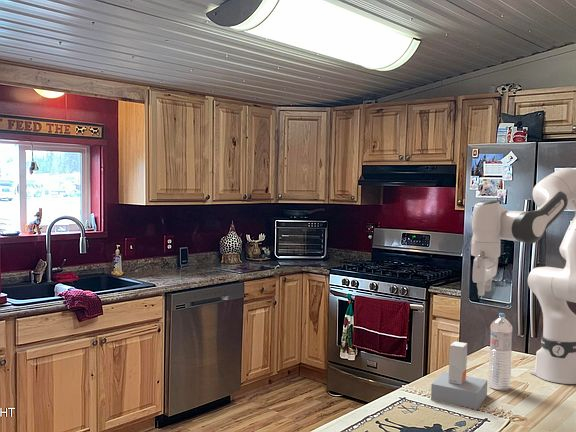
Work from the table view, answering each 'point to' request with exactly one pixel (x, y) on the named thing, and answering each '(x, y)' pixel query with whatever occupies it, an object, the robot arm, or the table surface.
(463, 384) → the base block
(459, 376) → the skincare box
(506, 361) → the water bottle
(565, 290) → the robot arm
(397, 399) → the table surface
